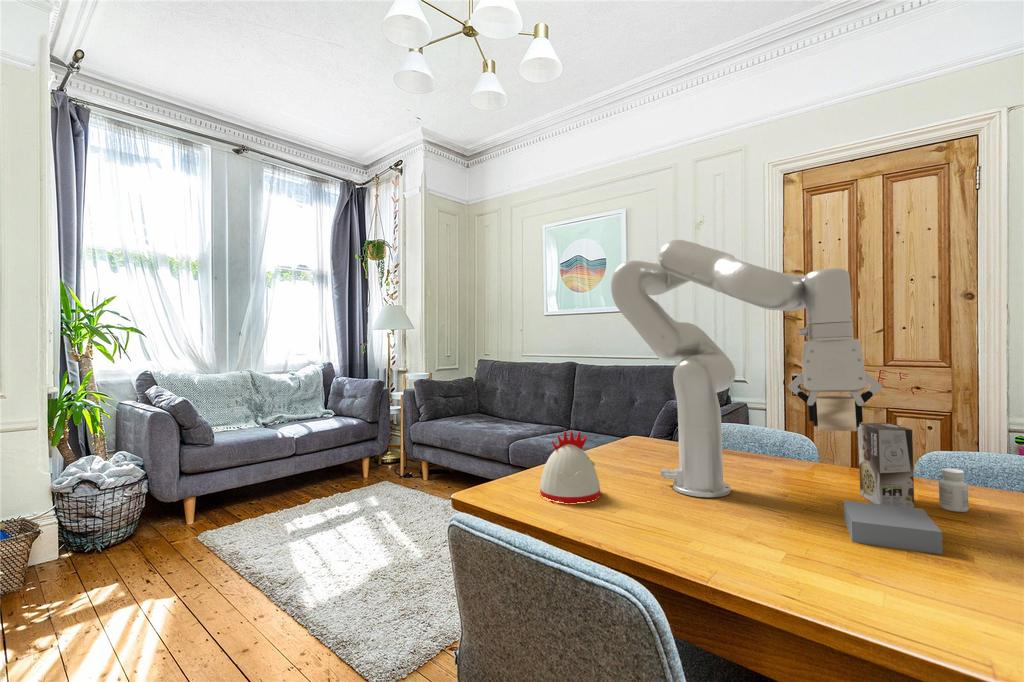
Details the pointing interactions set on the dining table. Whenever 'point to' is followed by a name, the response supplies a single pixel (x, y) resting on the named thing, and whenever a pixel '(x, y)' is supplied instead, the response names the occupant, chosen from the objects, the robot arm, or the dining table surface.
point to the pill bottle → (953, 491)
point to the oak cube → (836, 413)
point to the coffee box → (886, 464)
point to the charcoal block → (892, 527)
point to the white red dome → (570, 473)
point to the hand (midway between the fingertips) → (835, 424)
